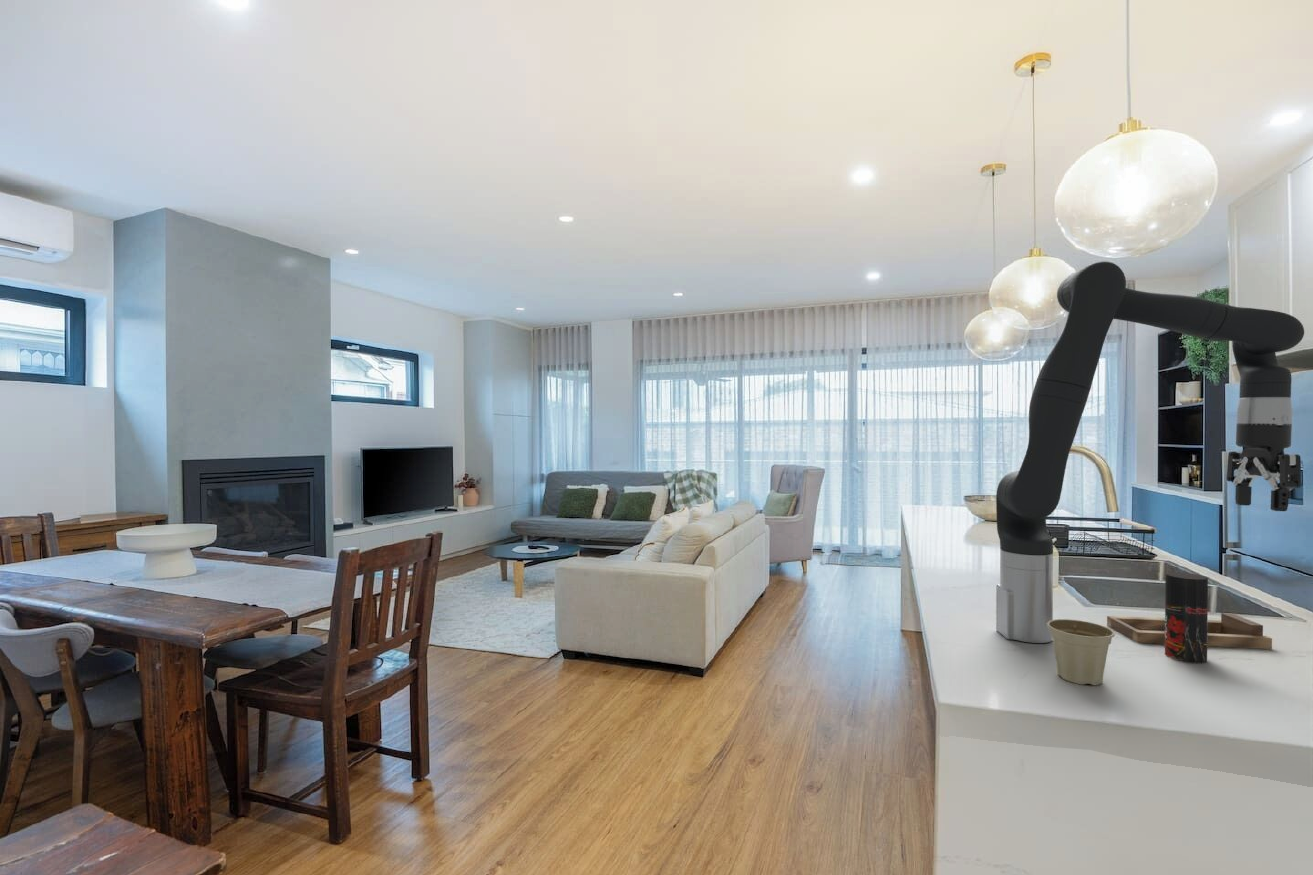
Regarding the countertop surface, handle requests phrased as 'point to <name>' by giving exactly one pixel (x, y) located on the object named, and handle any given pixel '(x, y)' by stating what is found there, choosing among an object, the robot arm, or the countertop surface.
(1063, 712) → the countertop surface
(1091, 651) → the flower pot
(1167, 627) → the deodorant
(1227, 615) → the wooden frame
